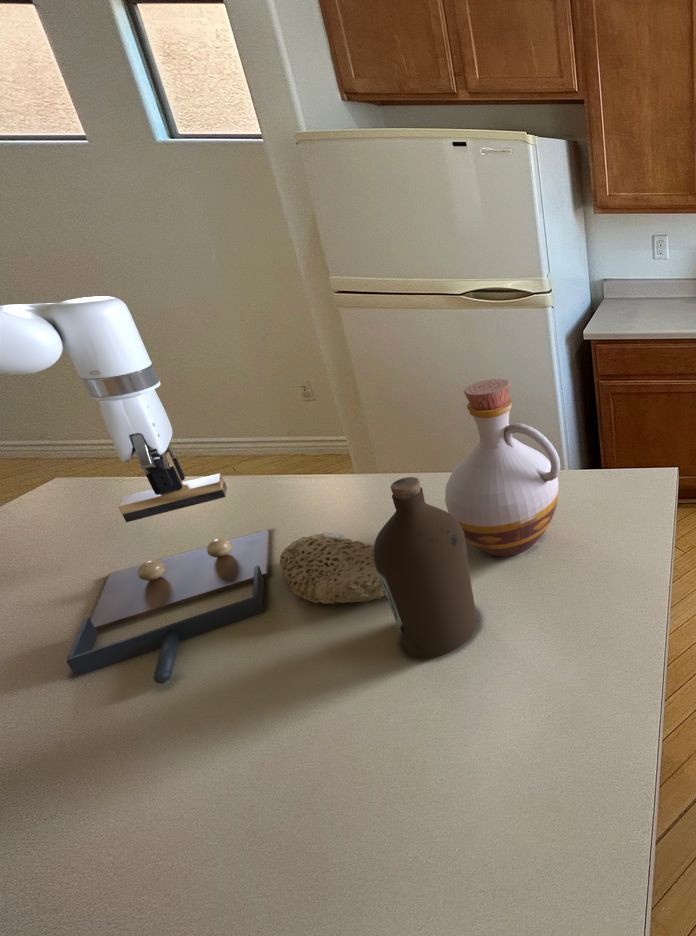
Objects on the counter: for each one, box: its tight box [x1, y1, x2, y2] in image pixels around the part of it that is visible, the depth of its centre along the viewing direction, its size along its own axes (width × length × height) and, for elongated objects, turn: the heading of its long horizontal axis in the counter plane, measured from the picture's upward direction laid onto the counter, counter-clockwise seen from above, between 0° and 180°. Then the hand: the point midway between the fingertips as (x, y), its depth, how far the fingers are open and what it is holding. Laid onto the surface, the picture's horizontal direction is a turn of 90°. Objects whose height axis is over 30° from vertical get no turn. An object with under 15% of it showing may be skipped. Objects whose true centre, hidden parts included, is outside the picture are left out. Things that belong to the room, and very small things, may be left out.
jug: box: [444, 378, 561, 557], centre depth 91 cm, size 20×18×30 cm
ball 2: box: [207, 538, 232, 557], centre depth 91 cm, size 3×3×3 cm
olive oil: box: [373, 476, 478, 659], centre depth 73 cm, size 11×11×25 cm
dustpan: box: [65, 565, 265, 684], centre depth 75 cm, size 17×19×3 cm
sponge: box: [279, 532, 387, 605], centre depth 86 cm, size 13×8×20 cm
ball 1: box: [138, 559, 165, 581], centre depth 85 cm, size 3×3×3 cm
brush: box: [117, 452, 228, 523], centre depth 89 cm, size 12×4×9 cm, turn 126°
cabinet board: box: [90, 528, 271, 632], centre depth 87 cm, size 20×14×1 cm
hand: (170, 485), depth 89 cm, fingers closed on brush, 2 cm apart
